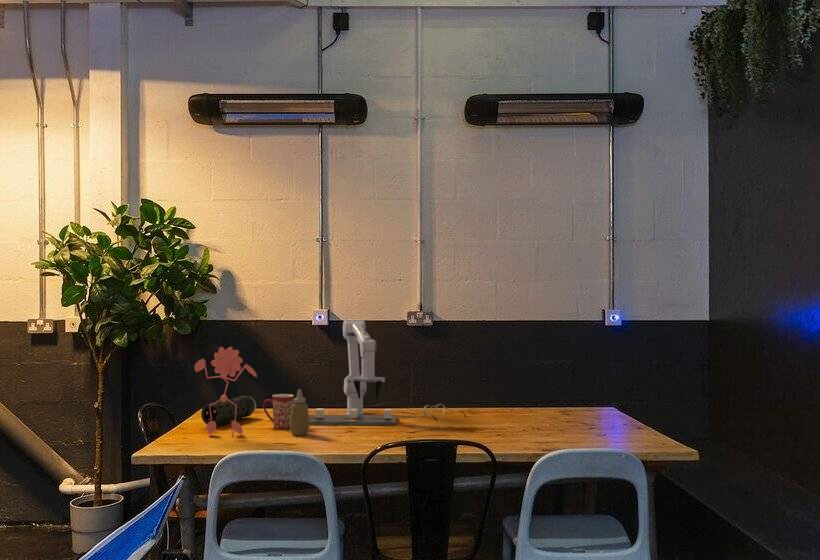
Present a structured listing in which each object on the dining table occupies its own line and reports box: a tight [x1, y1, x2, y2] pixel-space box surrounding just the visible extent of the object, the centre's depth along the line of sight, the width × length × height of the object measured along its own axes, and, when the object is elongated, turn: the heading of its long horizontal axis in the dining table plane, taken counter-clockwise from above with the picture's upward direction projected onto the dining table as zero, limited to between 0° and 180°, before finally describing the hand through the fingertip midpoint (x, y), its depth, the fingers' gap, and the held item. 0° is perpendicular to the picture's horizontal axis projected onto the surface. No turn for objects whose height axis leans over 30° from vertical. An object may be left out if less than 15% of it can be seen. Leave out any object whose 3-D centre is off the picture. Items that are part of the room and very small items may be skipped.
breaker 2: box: [383, 408, 393, 419], centre depth 309 cm, size 4×3×4 cm
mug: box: [262, 393, 294, 430], centre depth 296 cm, size 13×9×14 cm
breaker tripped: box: [350, 409, 358, 418], centre depth 310 cm, size 4×3×4 cm
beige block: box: [315, 407, 325, 418], centre depth 310 cm, size 4×3×4 cm
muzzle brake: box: [200, 395, 257, 427], centre depth 308 cm, size 10×28×10 cm, turn 158°
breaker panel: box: [309, 414, 398, 427], centre depth 310 cm, size 18×41×2 cm, turn 87°
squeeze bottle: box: [289, 388, 311, 437], centre depth 281 cm, size 8×8×18 cm
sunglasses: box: [420, 403, 467, 422], centre depth 324 cm, size 17×15×5 cm
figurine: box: [194, 346, 258, 438], centre depth 282 cm, size 15×26×35 cm, turn 85°
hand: (367, 398), depth 309 cm, fingers open, 7 cm apart
